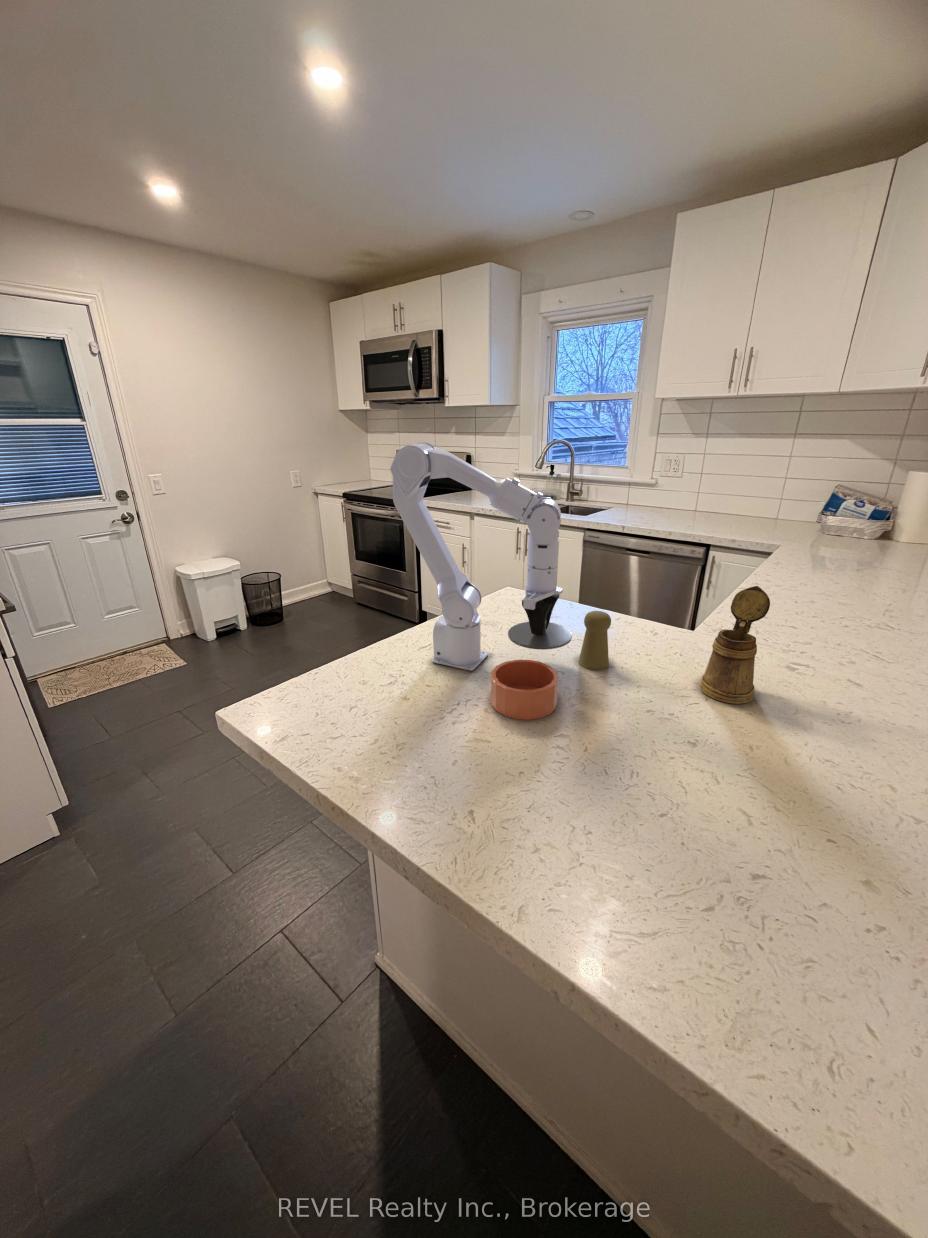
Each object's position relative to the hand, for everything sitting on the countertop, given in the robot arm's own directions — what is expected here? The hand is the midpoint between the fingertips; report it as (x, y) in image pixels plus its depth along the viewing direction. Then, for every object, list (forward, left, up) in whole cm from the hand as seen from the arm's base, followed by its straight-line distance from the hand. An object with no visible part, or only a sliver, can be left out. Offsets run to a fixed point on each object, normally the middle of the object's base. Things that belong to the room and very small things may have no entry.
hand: (539, 631), depth 98 cm
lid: (0, 0, -1) cm, 1 cm away
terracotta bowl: (+2, -14, -8) cm, 16 cm away
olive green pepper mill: (+10, +6, -8) cm, 14 cm away
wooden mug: (+35, +7, -8) cm, 37 cm away
